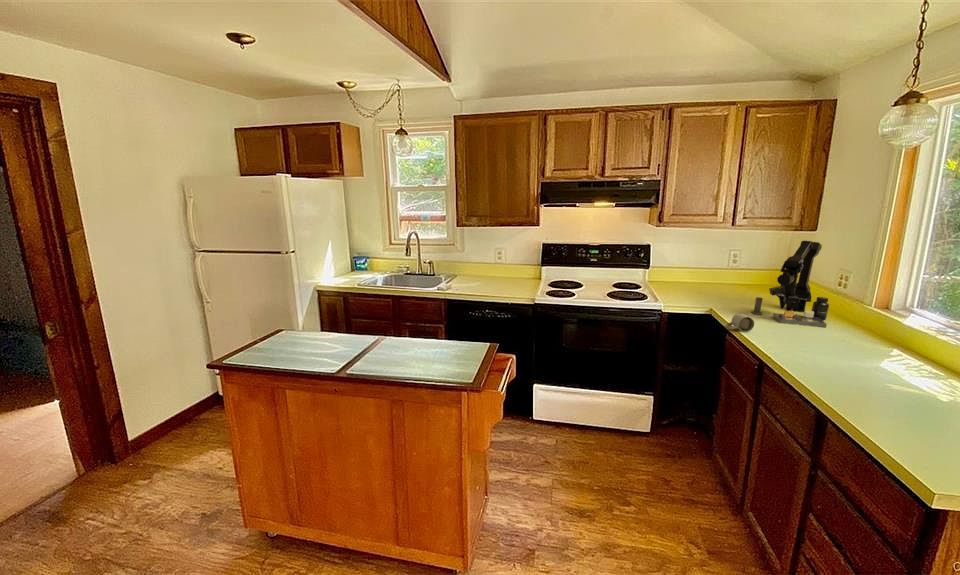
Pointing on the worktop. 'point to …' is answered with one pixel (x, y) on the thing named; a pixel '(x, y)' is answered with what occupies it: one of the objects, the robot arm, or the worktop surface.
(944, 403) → the worktop surface
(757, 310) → the post
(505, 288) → the worktop surface
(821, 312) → the supplement bottle
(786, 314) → the amber toggle
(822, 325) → the breaker panel
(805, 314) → the ivory toggle
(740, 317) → the ceramic mug
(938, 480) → the worktop surface
